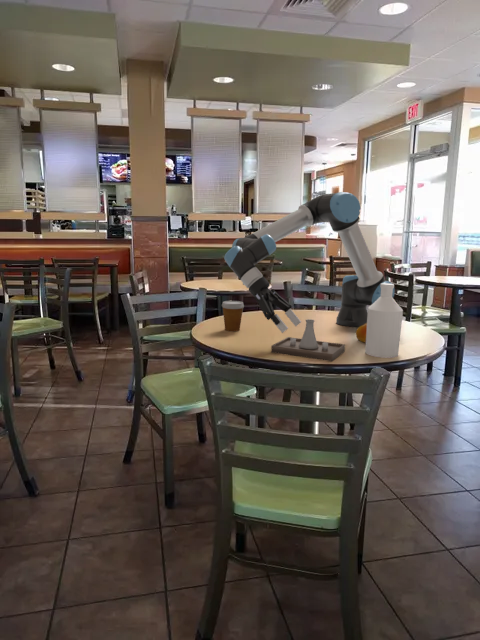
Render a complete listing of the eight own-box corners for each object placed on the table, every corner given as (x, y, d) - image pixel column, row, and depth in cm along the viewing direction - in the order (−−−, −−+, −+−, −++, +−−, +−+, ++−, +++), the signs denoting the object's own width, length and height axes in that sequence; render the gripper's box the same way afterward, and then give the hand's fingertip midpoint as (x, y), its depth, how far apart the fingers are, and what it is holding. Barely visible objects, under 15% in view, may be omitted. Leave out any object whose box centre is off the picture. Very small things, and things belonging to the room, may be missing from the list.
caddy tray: (287, 343, 179) (288, 333, 179) (344, 351, 170) (345, 340, 169) (271, 352, 165) (271, 341, 165) (332, 361, 156) (332, 349, 155)
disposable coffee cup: (241, 333, 195) (241, 304, 193) (218, 331, 197) (219, 303, 195) (245, 328, 204) (246, 301, 202) (224, 327, 206) (224, 300, 204)
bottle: (362, 348, 174) (367, 281, 169) (394, 350, 173) (400, 282, 168) (367, 357, 162) (373, 285, 158) (402, 358, 161) (409, 286, 157)
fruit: (353, 339, 188) (354, 320, 187) (374, 340, 188) (376, 321, 186) (357, 344, 180) (359, 324, 178) (380, 345, 180) (381, 325, 178)
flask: (320, 346, 169) (322, 319, 168) (316, 351, 163) (318, 322, 161) (301, 344, 172) (302, 317, 170) (296, 348, 165) (297, 320, 163)
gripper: (262, 286, 185) (296, 327, 181) (233, 292, 163) (271, 340, 159) (275, 273, 182) (310, 315, 178) (247, 278, 160) (286, 326, 156)
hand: (292, 327), depth 169 cm, fingers open, 13 cm apart
